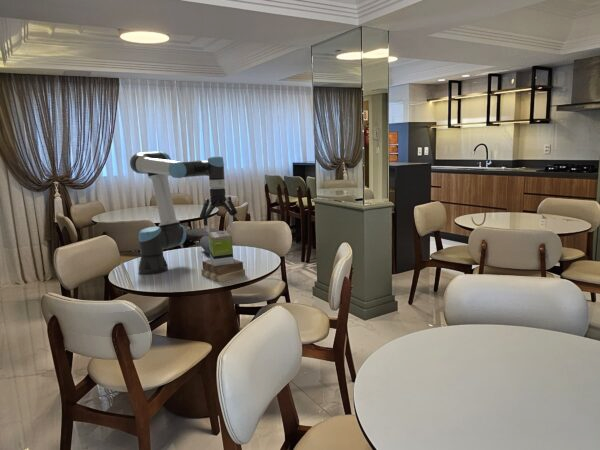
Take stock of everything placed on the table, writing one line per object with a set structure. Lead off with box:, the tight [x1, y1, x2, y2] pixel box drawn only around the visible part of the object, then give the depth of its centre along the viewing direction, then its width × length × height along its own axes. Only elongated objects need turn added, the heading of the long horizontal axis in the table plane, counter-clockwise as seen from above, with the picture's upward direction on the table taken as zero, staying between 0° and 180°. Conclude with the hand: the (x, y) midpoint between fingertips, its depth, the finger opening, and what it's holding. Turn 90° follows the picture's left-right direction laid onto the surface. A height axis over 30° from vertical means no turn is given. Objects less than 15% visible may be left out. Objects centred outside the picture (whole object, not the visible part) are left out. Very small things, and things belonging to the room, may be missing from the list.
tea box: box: [207, 230, 235, 266], centre depth 220 cm, size 15×10×15 cm, turn 20°
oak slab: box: [201, 268, 246, 283], centre depth 222 cm, size 18×15×4 cm
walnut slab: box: [201, 258, 244, 275], centre depth 222 cm, size 17×14×4 cm
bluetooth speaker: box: [199, 235, 210, 256], centre depth 271 cm, size 23×9×10 cm, turn 25°
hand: (219, 230), depth 219 cm, fingers open, 13 cm apart
